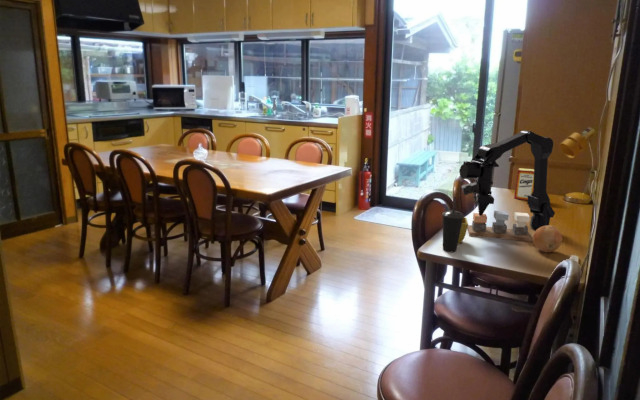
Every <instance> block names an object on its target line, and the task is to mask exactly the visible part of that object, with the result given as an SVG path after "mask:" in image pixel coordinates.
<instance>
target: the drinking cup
mask: <svg viewBox="0 0 640 400" xmlns="http://www.w3.org/2000/svg"><path fill="white" fill-rule="evenodd" d="M456 200H457V197H456V196H455V197H453V203H452V204H453V205H452V210H447V211H444V212H442V214H441V215H442V251H444V252H448V253H455V252H457V249H458V245H459V244H458V240H459V235H460V230H461V225H462V220H463V218H464V217H465V214H463V213H462V212H460V211H457V210H455V208H456Z"/></svg>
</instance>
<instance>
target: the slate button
mask: <svg viewBox="0 0 640 400" xmlns="http://www.w3.org/2000/svg"><path fill="white" fill-rule="evenodd" d="M509 215H510V214H509V213H508V211H503V210H494V211H493V219H494V220H495V222H496V225H500V226H504V223H505V221H509V217H510V216H509Z"/></svg>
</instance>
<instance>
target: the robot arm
mask: <svg viewBox="0 0 640 400" xmlns="http://www.w3.org/2000/svg"><path fill="white" fill-rule="evenodd" d="M523 144H528V145H530V151H531V154H532V155H533V158H534V164H533V165H534V166H533V168H534V189H533V192H532V194H531V195H528V200H527V203H526V205H528V209H529V211H530V213H532V216H530V221H529V223H530V224H529V225H530V228H531V229H532V230H534V231H536V230H537V229H538V228H540V227H542V226H548V225H550V221H551V218H554V217H555V214H556V212H555V210H554V209H553V207H552V206H551V199H550V196H549V194H548V192H547V187H548V186H547V185H548V184H547V182H548V159H549V157H550V156H551V154H552V153H553V149H554V141H553V139H552V138H551V137H547V136H543V135H539V134H538V133H537V134H536V133H535V132H533V131H532V130H525V129H523V130H521V131H519V132H517V133H516V134H514V135H512V136H511V135H510V137H507V138H505V139H503V140H501V141H499V142H497V143H495V142H494V143H489V144H484V145H481V146H480V147H479V148H478V150H477V152H476V153H475V154H474V156H473V158H472V159H471V160H469V161H468V160H464V161H463V164H461V165H460V168H459V171H458V172H459V176H460V178H461V179H463V180H464V179H475V181H474V182H470V183H466V184H462V185H461V190H462V194H463V195H464V196H467V195H469V194H473V197H474V200H475V202H476V203H477V210H478V213H479V215H482V214H485V211H486V210H487V208H488V206H489V205H494V204H495V198H494V196H493V195H492V194H493V193H492V192H493V191H492V186H493V184H494V182H493V178H494V177H493V176H494V170H495V169H494V168H499V167H500V165H499V164H498V163H497V162H496V161H497V160H498V159H500V158H501V157H502V156H503V155H504V154H505V153H506V152H509V151H511V150H513V149H515V148H517V147H519V146H522V145H523ZM474 194H476V195H474Z"/></svg>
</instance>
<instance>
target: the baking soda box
mask: <svg viewBox="0 0 640 400" xmlns="http://www.w3.org/2000/svg"><path fill="white" fill-rule="evenodd" d="M515 182H516V183H515V188H514V189H515V191H514V196H513V197H514V198H513V199H516V200H522V201H523V200H525V201H528V195H531V194H532V192H533V189H534V169H533V168H523V167H521V168H520V167H518V169H517V176H516V181H515Z"/></svg>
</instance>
